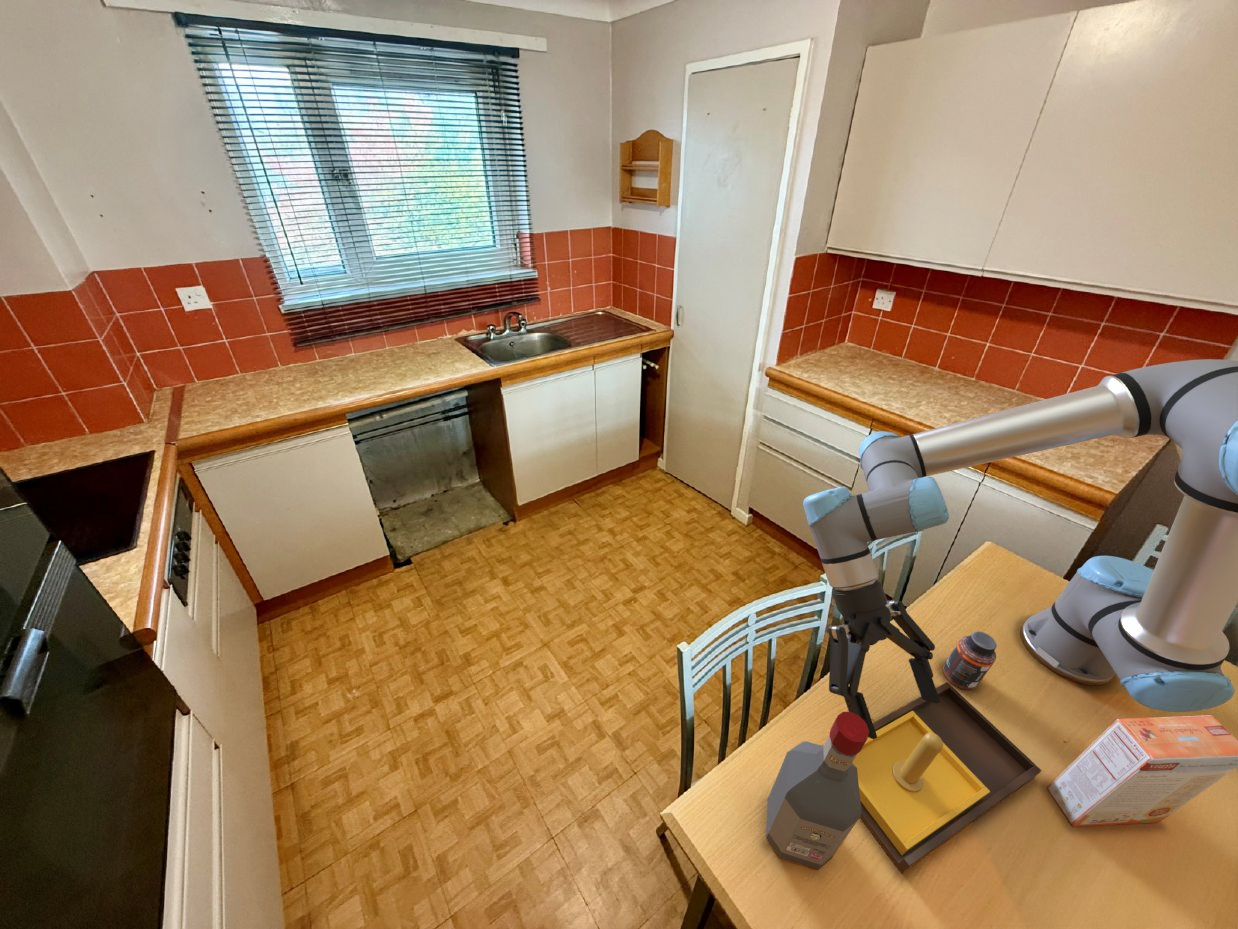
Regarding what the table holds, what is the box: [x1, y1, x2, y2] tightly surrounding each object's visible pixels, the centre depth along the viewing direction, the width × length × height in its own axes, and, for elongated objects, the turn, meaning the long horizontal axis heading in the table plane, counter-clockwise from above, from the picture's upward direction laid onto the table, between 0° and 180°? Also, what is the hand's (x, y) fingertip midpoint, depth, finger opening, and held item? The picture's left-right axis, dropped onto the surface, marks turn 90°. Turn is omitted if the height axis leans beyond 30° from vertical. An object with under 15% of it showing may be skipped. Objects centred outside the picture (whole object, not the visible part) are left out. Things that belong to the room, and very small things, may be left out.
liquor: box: [765, 711, 869, 871], centre depth 67 cm, size 9×9×30 cm
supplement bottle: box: [942, 630, 998, 690], centre depth 94 cm, size 6×6×11 cm
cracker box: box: [1046, 714, 1238, 827], centre depth 73 cm, size 14×6×21 cm, turn 92°
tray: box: [852, 711, 990, 856], centre depth 77 cm, size 18×14×13 cm
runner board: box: [859, 681, 1042, 875], centre depth 82 cm, size 30×17×3 cm, turn 115°
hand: (901, 718), depth 78 cm, fingers open, 13 cm apart
